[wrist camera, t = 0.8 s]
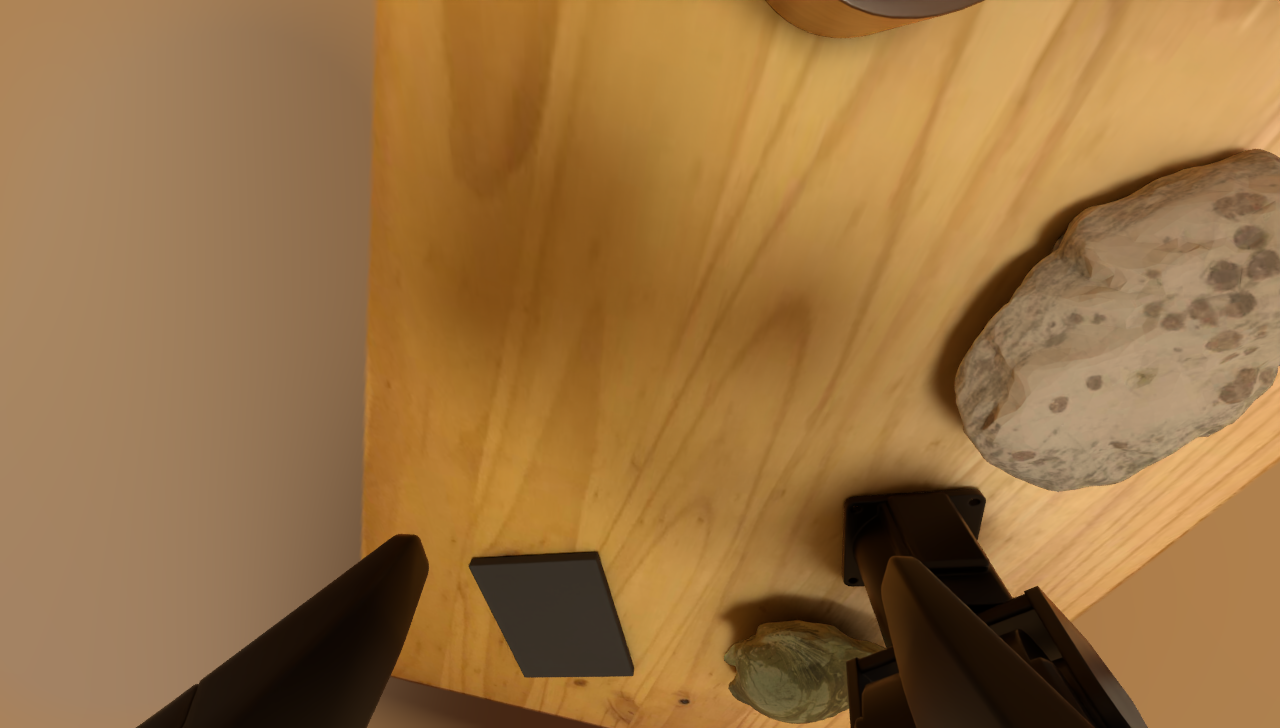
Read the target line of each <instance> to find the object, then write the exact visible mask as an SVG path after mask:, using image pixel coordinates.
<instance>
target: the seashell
mask: <svg viewBox="0 0 1280 728" xmlns="http://www.w3.org/2000/svg"><path fill="white" fill-rule="evenodd" d="M883 649H886V648H884V647H881V646H879V645H877V644H875V643H872V642H869V641H864V640H857V639H854V638H851V637H849V636H847V635H845V634H843V633H842V632H841V631H840V630H838V629H837V628H836V627H835V626H832V625H827V624H821V623H811V622H806V621H801V620H797V619H796V620H795V621H785V622H769V623H764V624H761V625H760V626H759V627H758V628H757V632H756V635H752V636H750V638H749V639H748V640H746V639H745V640H743V641H740V642H737V643H735V644H733V645H732V646H731V648H730V649H729V650H728V651H727V653H726V654H725V656H724V661H726V663H728V664H730V665H734V666H735V667H736V670H737V673H736V676H735V678H734V680H733V681H732V682H730V684H729V690H730V691H731V693H732V695H733V696H734V697H735V698H736V699H737V700H739V701H741V702H743V703H745V704H748V705H750V706H751V707H753V708H754V709H755V710H757V711H758V712H760V713H761V714H763V715H765V716H767V717H769V718H772V719H775V720H778V721H782V722H787V723H796V724H801V723H810V722H816V721H819V720H824V719H826V718H829V717H834V716H835V715H837V714H838V713H840V712H842V711H845V710H847V709H849V699H848V686H847V671H846V661H849V660H851V659H854V658H856V657H857V658H859V659H860V658H863V657H865V656H868V655H870V654H873V653H875V652H878V651H880V650H883Z"/></svg>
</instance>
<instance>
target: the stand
mask: <svg viewBox="0 0 1280 728" xmlns="http://www.w3.org/2000/svg"><path fill="white" fill-rule="evenodd" d="M982 1H984V0H766V2H767V3H768V4H769V5H770V6H771V7H772V8H773V9H774V10H775V11H776V12H777V13H778V14H779V15H780V16H782V17H783V18H784V19H786V20H787V21H788V22H789V23H791V24H793V25H795V26H797V27H798V28H800V29H802V30H804V31H807V32H810V33H813V34H816V35H820V36H825V37H831V38H853V37H860V36H866V35H870V34H874V33H878V32H881V31H885V30H889V29H893V28H896V27H900V26H904V25H908V24H911V23H915V22H919V21H923V20H927V19H930V18H934V17H938V16H941V15H945V14H949V13H952V12H956V11H960V10H963V9H965V8H968V7H970V6H972V5H975V4H977V3H980V2H982Z"/></svg>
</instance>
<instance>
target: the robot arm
mask: <svg viewBox="0 0 1280 728" xmlns="http://www.w3.org/2000/svg"><path fill="white" fill-rule="evenodd" d="M972 499H973V500H972ZM985 503H986V499H985V497H984V496H983V495H982V493H981V492H980V491H979V490H977V489H963V490H948V491H932V492H917V493H902V494H887V495H871V496H856V497H850V498H848V499H847V500H846V501H845V503H844V519H843V553H842V577H843V580H844V583H845V584H846V585H847V586H852V587H854V586H865V588H866V591H867V594H868V597H869V599H870V602H871V605H872V608H873V611H874V614H875V616H876V619H877V622H878V625H879V628H880V631H881V633H882V636H883V639H884V642H885V645H886V649H883V650H880V651H878V652H875V653H873V654H870V655H868V656H865V657H863V658H860V659H859V658H857V657H856V658H854V659H851V660H849V661H846V671H847V686H848V699H849V711H850V724H851V728H1148V727H1147V726H1146V724H1145V722H1144V720H1143V719H1142V717H1141V715H1140V713H1139V712H1138V710H1137V708H1136V707H1135V705H1134V703H1133V701H1132V700H1131V699H1130V697H1129V696H1128V694H1127V693H1126V692H1125V690H1124V689H1123V688H1122V686H1121V685H1120V684H1119V682H1118V681H1117V680H1116V678H1115V677H1114V676H1113V674H1112V673H1111V672H1110V670H1109V669H1108V667H1107V666H1106V665H1105V664H1104V662H1103V661H1102V659H1101V658H1100V657H1099V655H1098V654H1097V653H1096V651H1095V650H1094V649H1093V647H1092V646H1091V645H1090V644H1089V643H1088V641H1087V640H1086V639H1085V638H1084V637H1083V635H1082V634H1081V633H1080V632H1079V631H1078V630H1077V629H1076V628H1075V627H1074V625H1073V624H1072V623H1071V622H1070V621H1069V620H1068V619H1067V618H1066V617H1065V615H1064V614H1063V613H1062V612H1061V611H1060V610H1059V609H1058V608H1057V607H1056V606H1055V604H1054V603H1053V602H1052V601H1051V600H1050V599H1049V598H1048V597H1047V596H1046V595H1045V593H1044V592H1043V591H1042V590H1041V589H1040V588H1039V587H1038V586H1036V587H1034V588H1031V589H1029V590H1026V591H1024V592H1025V594H1023V595H1021V596H1018V597H1016V598H1012V596H1011V595H1010V593H1009V592H1008V590H1007V588H1006V587H1005V585H1004V584H1003V582H1002V580H1001V579H1000V577H999V576H998V574H997V573H996V571H995V569H994V568H993V566H992V565H991V563H990V561H989V559H988V557H987V556H986V554H985V552H984V551H983V549H982V548H981V546H980V544H979V543H978V541H977V540H978V535H979V531H980V526H981V521H982V517H983V512H984V508H985ZM854 506H857V507H854ZM428 570H429V563H428V559H427V557H426V554H425V551H424V548H423V546H422V543H421V540H420V538H419V537H418V536H417V535H410V534H398V535H395V536H393V537H392V538H391V539H389V540H388V541H386V542H385V543H384V544H382V545H381V546H380V547H378V548H377V549H376V550H374V551H373V552H372V553H370V554H369V555H368V556H366V557H365V558H364V559H362V560H361V561H360V562H358V563H357V564H356V565H354V566H353V567H352V568H350V569H349V570H348V571H346V572H345V573H344V574H342V575H341V576H340V577H338V578H337V579H336V580H334V581H333V582H332V583H330V584H329V585H328V586H327V587H325V588H324V589H322V590H321V591H320V592H318V593H317V594H316V595H314V596H313V597H312V598H310V599H309V600H307V601H306V602H305V603H303V604H302V605H301V606H299V607H298V608H297V609H296V610H294V611H293V612H291V613H290V614H289V615H287V616H286V617H285V618H284V619H282V620H281V621H279V622H278V623H277V624H275V625H274V626H273V627H271V628H270V629H269V630H267V631H266V632H265V633H263V634H262V635H261V636H259V637H258V638H257V639H255V640H254V641H253V642H251V643H250V644H249V645H247V646H246V647H245V648H243V649H242V650H241V651H239V652H238V653H237V654H235V655H234V656H233V657H231V658H230V659H229V660H227V661H226V662H225V663H223V664H222V665H221V666H219V667H218V668H216V669H215V670H214V671H213V672H212V673H210V674H208V675H207V676H206V677H204V678H203V679H202V680H201V681H200V683H199V684H195V685H193V686H192V687H191V688H190V689H188V690H187V691H185V692H184V693H183V694H181V695H180V696H179V697H177V698H176V699H175V700H174V701H172V702H171V703H169V704H168V705H167V706H165V707H164V708H163V709H161V710H160V711H158V712H157V713H156V714H154V715H153V716H151V717H150V718H149V719H147V720H146V721H145V722H143V723H142V724H140V725H139V726H138V727H136V728H367V726H368V724H369V721H370V719H371V717H372V715H373V713H374V710H375V708H376V706H377V704H378V702H379V699H380V697H381V695H382V693H383V690H384V688H385V686H386V684H387V682H388V680H389V677H390V675H391V673H392V671H393V669H394V666H395V664H396V662H397V659H398V657H399V655H400V652H401V650H402V647H403V645H404V642H405V639H406V636H407V633H408V630H409V628H410V625H411V622H412V619H413V616H414V613H415V610H416V607H417V604H418V601H419V598H420V596H421V593H422V590H423V587H424V584H425V581H426V578H427V575H428Z"/></svg>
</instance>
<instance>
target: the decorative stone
mask: <svg viewBox="0 0 1280 728" xmlns="http://www.w3.org/2000/svg"><path fill="white" fill-rule="evenodd" d="M1278 366H1280V158H1279V157H1277V156H1276V155H1274V154H1272V153H1270V152H1267V151H1264V150H1261V149H1253V150H1247V151H1244V152H1241V153H1238V154H1235V155H1233V156H1231V157H1228V158H1226V159H1224V160H1222V161H1218V162H1215V163H1212V164H1208V165H1204V166H1196V167H1192V168H1188V169H1184V170H1181V171H1179V172H1176V173H1174V174H1171V175H1168V176H1164V177H1161V178H1159V179H1157V180H1155V181H1153V182H1151V183H1149V184H1148V185H1146V186H1144V187H1143V188H1141V189H1139V190H1138V191H1136V192H1134V193H1133V194H1131V195H1129V196H1127V197H1125V198H1122V199H1119V200H1116V201H1113V202H1110V203H1107V204H1102V205H1098V206H1092V207H1089V208H1087V209H1085V210H1084V211H1082V212H1081V213H1080V214H1079V215H1078V216H1077V217H1075V218H1074V219H1073V220H1072V221H1071V222H1070V223H1069V225H1068V229H1067V231H1066V233H1065V234H1064V235H1062V236H1061V237H1059V238H1058V240H1057V242H1056V244H1055V245H1054V247H1053V251H1052V253H1051V254H1050V255H1048V256H1047V257H1045V258H1044V259H1042V260H1041V261H1040V262H1039V263H1037V264H1036V265H1035V266H1034V267H1033V268H1032V269H1031V270H1030V272H1029V273H1028V274H1027V275H1026V276H1025V278H1024V280H1023V282H1022V284H1021V285H1020V286H1019V287H1018V288H1017V289H1016V291H1015V293H1014V294H1013V296H1012V298H1011V299H1010V301H1009V303H1007V304H1006V305H1004V306H1003V307H1002V308H1001V309H1000V310H999V311H998V312H997V313H996V314H995V315H994V316H993V317H992V318H991V319H990V320H989V321H988V323H987V325H986V326H985V328H984V329H983V330H982V332H981V333H980V334H979V336H978V337H977V338H976V339H975V341H974V342H973V344H972V346H971V347H970V349H969V350H968V352H967V353H966V354H965V356H964V358H963V360H962V362H961V364H960V366H959V368H958V371H957V374H956V377H955V386H954V391H955V395H956V404H957V407H958V410H959V413H960V416H961V419H962V422H963V430H964V432H965V434H966V435H967V436H968V437H969V439H970V440H971V441H972V443H973V444H974V445H975V447H976V448H977V449H978V451H979V452H980V453H981V455H982V456H983V458H984V459H985V460H986V461H988V462H989V463H990V464H992V465H994V466H996V467H998V468H1000V469H1001V470H1003V471H1005V472H1006V473H1008V474H1010V475H1012V476H1014V477H1016V478H1018V479H1021V480H1024V481H1026V482H1028V483H1030V484H1033V485H1036V486H1039V487H1041V488H1044V489H1047V490H1051V491H1057V492H1059V491H1067V490H1075V489H1080V488H1084V487H1089V486H1102V485H1111V484H1116V483H1119V482H1122V481H1124V480H1126V479H1128V478H1130V477H1131V476H1132V475H1134V474H1136V473H1137V472H1139V471H1140V470H1142V469H1144V468H1145V467H1147V466H1149V465H1152V464H1154V463H1156V462H1158V461H1160V460H1161V459H1163V458H1165V457H1167V456H1169V455H1171V454H1173V453H1174V452H1176V451H1177V450H1179V449H1180V448H1182V447H1183V446H1184V445H1186V444H1188V443H1189V442H1191V441H1192V440H1194V439H1195V438H1197V437H1208V436H1210V435H1211V434H1213V433H1215V432H1217V431H1219V430H1221V429H1223V428H1224V427H1226V426H1227V425H1230V424H1232V423H1234V422H1235V421H1236V420H1237V419H1238V418H1239V417H1240V416H1241V415H1242V414H1243V413H1244V412H1245V411H1246V410H1247V409H1248V408H1249V406H1250V405H1251V404H1252V403H1253V402H1254V401H1255V400H1256V399H1257V398H1258V397H1260V396H1261V395H1262V394H1263V393H1264V392H1266V391H1267V390H1268V389H1269V388H1270V387H1271V386H1272V384H1273V382H1274V380H1275V377H1276V375H1277V372H1278Z"/></svg>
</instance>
